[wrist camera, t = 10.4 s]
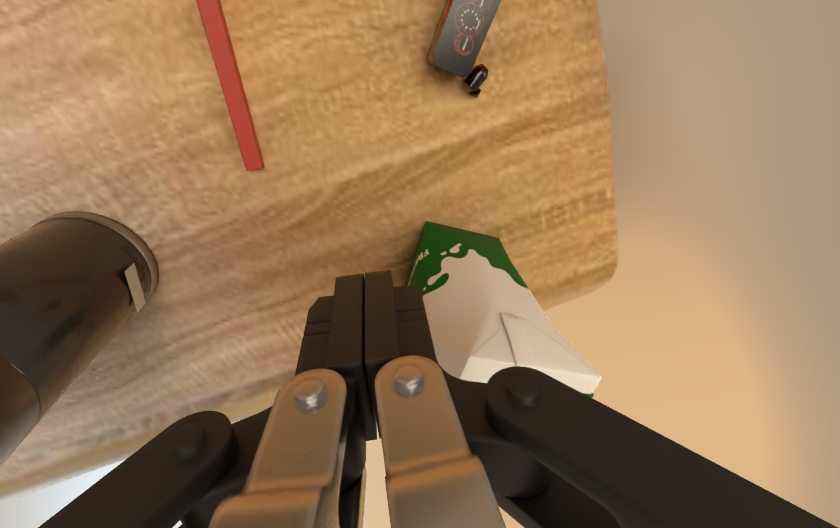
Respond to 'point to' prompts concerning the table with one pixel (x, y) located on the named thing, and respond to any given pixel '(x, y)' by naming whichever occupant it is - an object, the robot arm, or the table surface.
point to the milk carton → (488, 312)
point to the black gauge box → (463, 40)
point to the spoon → (230, 82)
